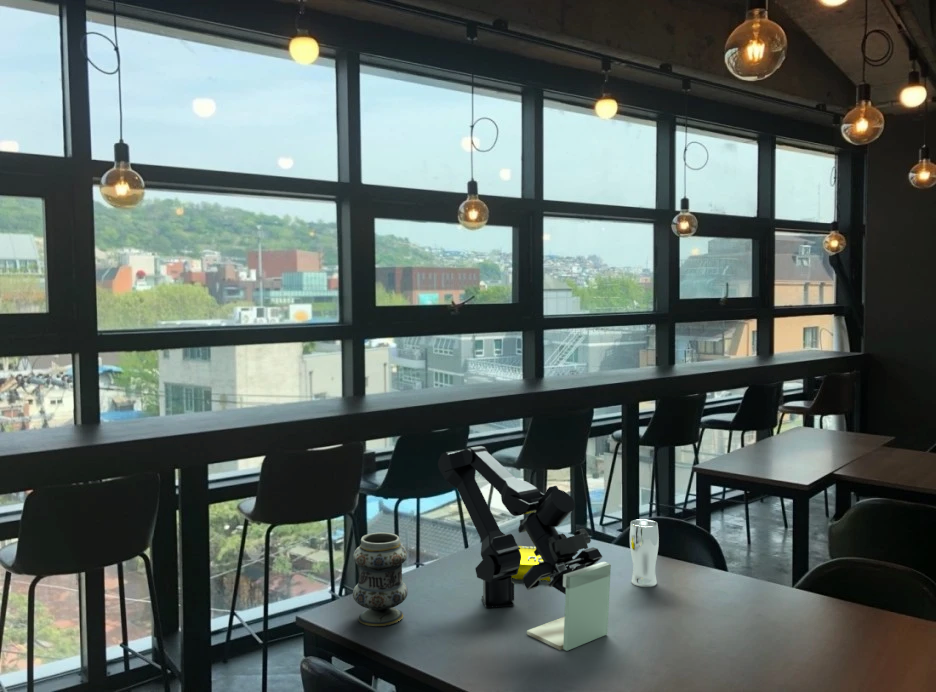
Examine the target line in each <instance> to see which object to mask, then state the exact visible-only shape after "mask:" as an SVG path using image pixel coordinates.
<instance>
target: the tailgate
mask: <svg viewBox="0 0 936 692" xmlns="http://www.w3.org/2000/svg"><path fill="white" fill-rule="evenodd" d="M611 567H612V565H611V563H609V562H606V561H601V562H597V563H596V564H595V565H592V566H588V567H585V568H582V569H579V570H576V571H573V572H570V573H567V574H563V587H566V595H565V594H564V595H565V597H564V598H565V602H564V617H565V618H564V641H563V649H562V650H564V651H567V652H568V651H569V650H572V649H575V648H577V647H580V646H582V645H585V644H587V643H589V642H591V641H594V640H597V639H600V638H601V637H604V636H606V635H608V633H609V632H608V627H609V606H610V589H611V569H612V568H611Z"/></svg>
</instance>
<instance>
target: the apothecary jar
mask: <svg viewBox="0 0 936 692" xmlns="http://www.w3.org/2000/svg"><path fill="white" fill-rule="evenodd" d="M352 557H353V561H354V563H355V564H356V565H357V566H358V583H357V584H356V585H355V586H354V588H353V591H352V597H353V600H354V601H355V603H356V604H358V605H359V606H360V607H362V608H365V609H366V610H364V611H362V612H361V613H360V614H359V615H358V621H359V622H360V624H362V625H364V626H369V627H377V626H378V627H387V626H386V625H388V626H392V625H395V624H398V623H399V622H400V620H401V619H402V620H403V618H404V614H403V612H402V610H399V609H397V608H396V607H398V606H399V605H401V604H402V603H403V602H405V600H406V599H407V597H408V592H409V591H408V587H407V585H406V583H404V581H403V563H405V561H406V560H407V557H408V551H407V549H406V547H405V546H403V544H401V540H400V536H398V534H395V533H391V532H373V533H372V532H371V533H368V534H364V535H363V536H362V537H361V539H360V544H359V546H358V547H357V548H356V549H355V550H354V553H353V556H352ZM402 620H401V621H402ZM398 621H399V622H398ZM394 623H395V624H394ZM391 624H392V625H391Z"/></svg>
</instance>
